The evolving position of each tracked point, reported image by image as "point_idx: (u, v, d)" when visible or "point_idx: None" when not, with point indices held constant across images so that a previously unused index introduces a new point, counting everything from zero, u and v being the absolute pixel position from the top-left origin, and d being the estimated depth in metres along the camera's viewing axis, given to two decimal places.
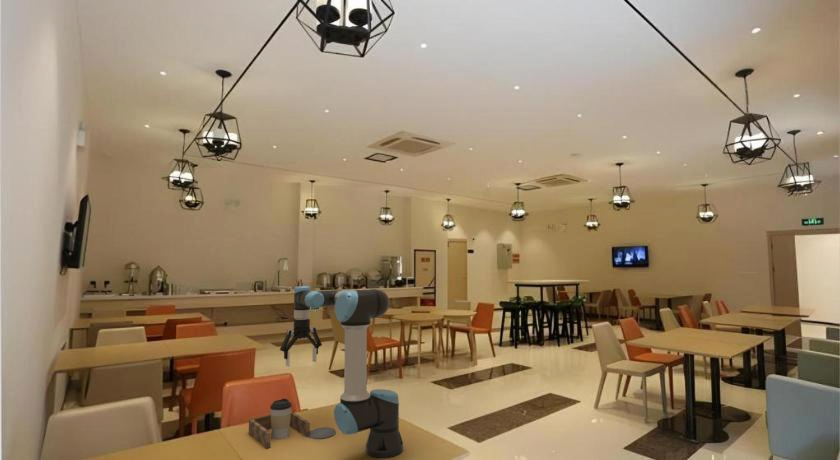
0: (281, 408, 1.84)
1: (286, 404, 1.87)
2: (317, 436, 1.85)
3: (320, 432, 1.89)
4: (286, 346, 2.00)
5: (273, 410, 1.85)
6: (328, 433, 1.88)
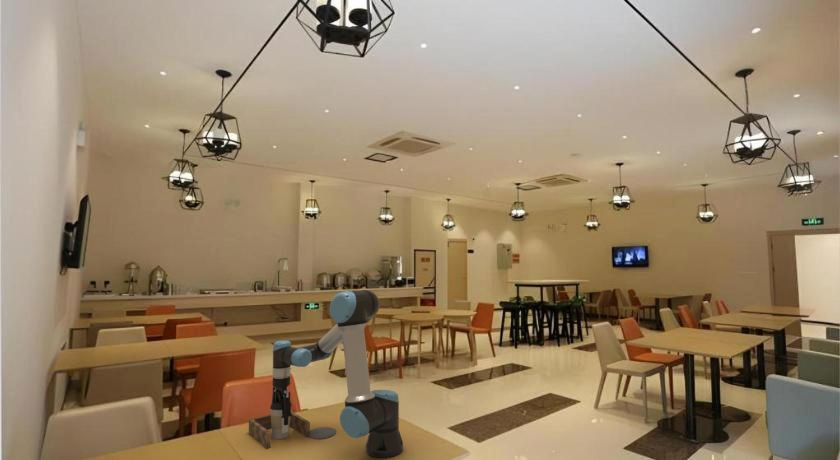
0: (281, 408, 1.84)
1: None
2: (317, 436, 1.85)
3: (320, 432, 1.89)
4: None
5: (273, 410, 1.85)
6: (328, 433, 1.88)
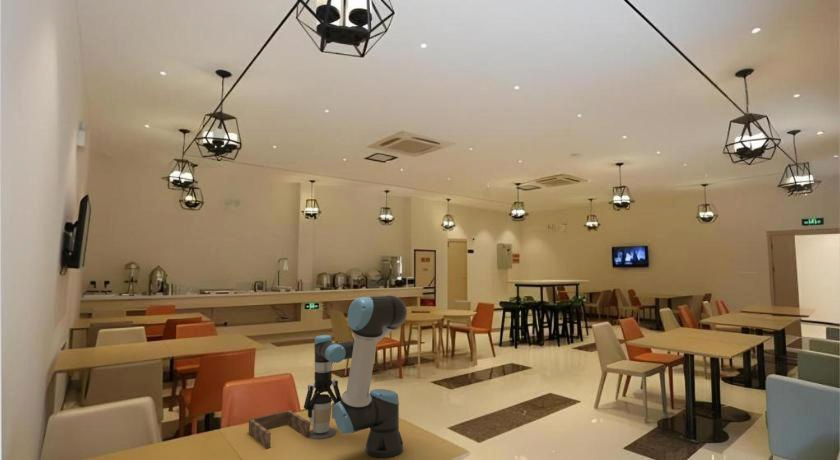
0: None
1: None
2: (317, 436, 1.85)
3: None
4: None
5: (329, 403, 1.88)
6: (328, 433, 1.88)
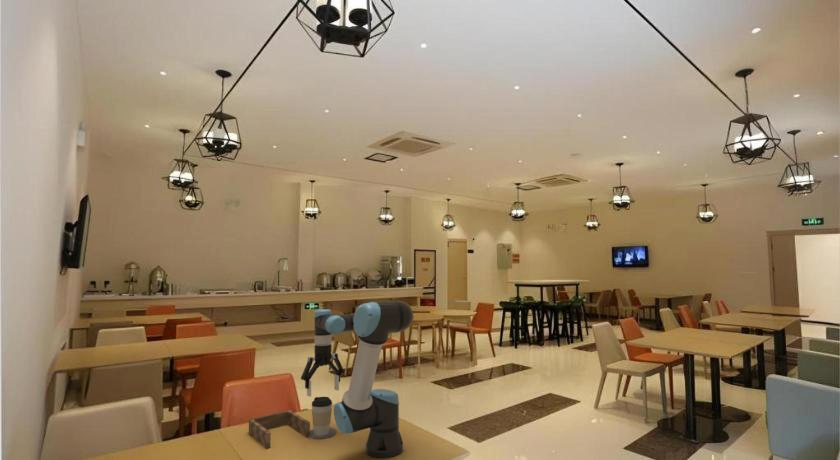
0: (331, 401, 1.91)
1: None
2: (317, 436, 1.85)
3: None
4: None
5: (329, 406, 1.88)
6: (328, 433, 1.88)
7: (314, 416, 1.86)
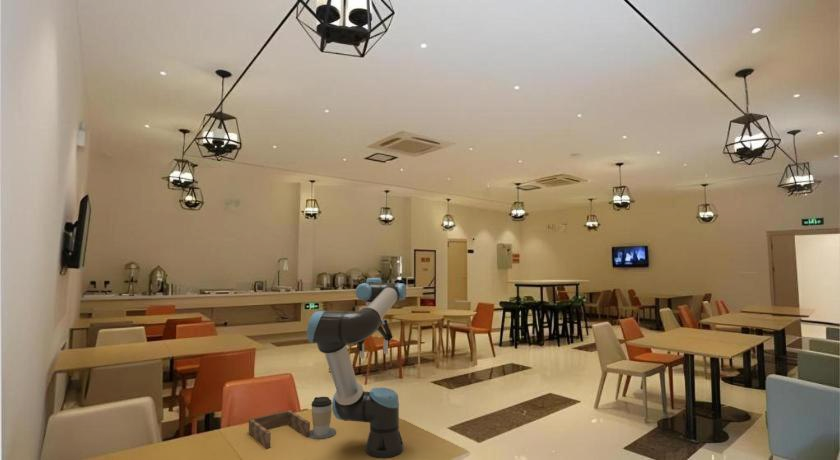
0: None
1: None
2: (317, 436, 1.85)
3: None
4: None
5: (329, 406, 1.88)
6: (328, 433, 1.88)
7: (314, 416, 1.86)
